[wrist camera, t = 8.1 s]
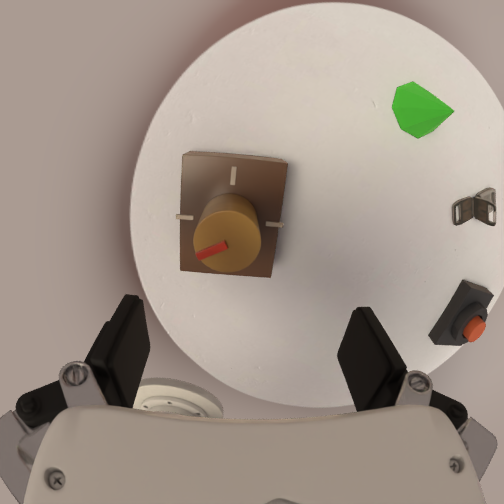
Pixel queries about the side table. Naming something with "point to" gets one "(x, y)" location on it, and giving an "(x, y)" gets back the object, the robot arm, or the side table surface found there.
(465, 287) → the button box
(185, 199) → the panel
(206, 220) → the knob
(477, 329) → the button
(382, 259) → the side table surface
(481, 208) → the strap clip
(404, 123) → the gemstone
